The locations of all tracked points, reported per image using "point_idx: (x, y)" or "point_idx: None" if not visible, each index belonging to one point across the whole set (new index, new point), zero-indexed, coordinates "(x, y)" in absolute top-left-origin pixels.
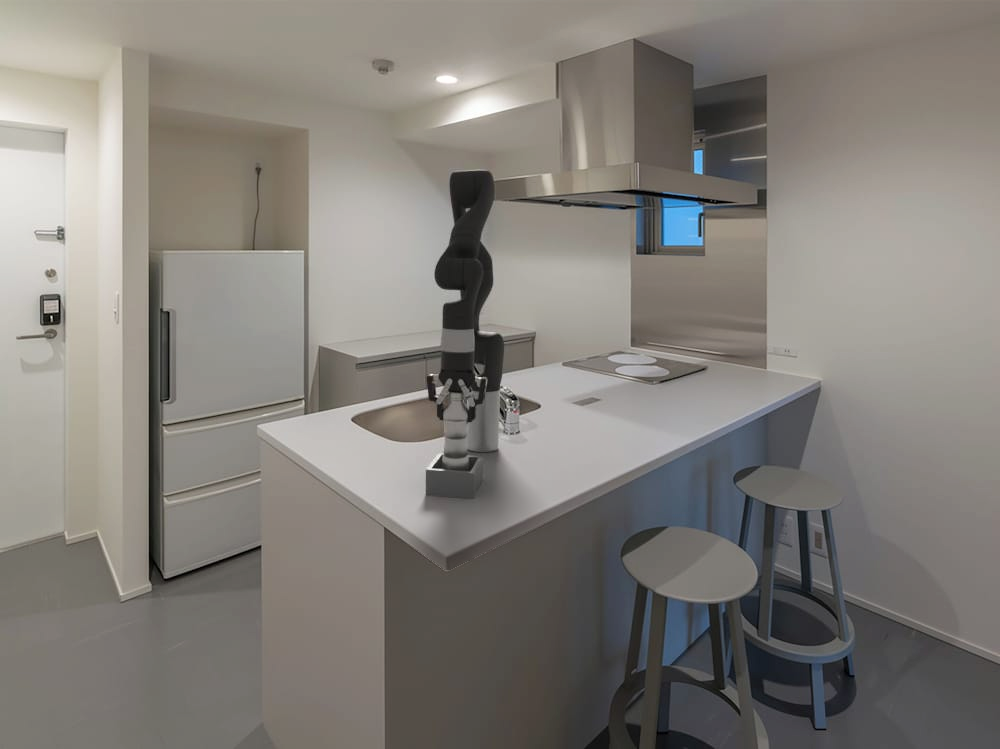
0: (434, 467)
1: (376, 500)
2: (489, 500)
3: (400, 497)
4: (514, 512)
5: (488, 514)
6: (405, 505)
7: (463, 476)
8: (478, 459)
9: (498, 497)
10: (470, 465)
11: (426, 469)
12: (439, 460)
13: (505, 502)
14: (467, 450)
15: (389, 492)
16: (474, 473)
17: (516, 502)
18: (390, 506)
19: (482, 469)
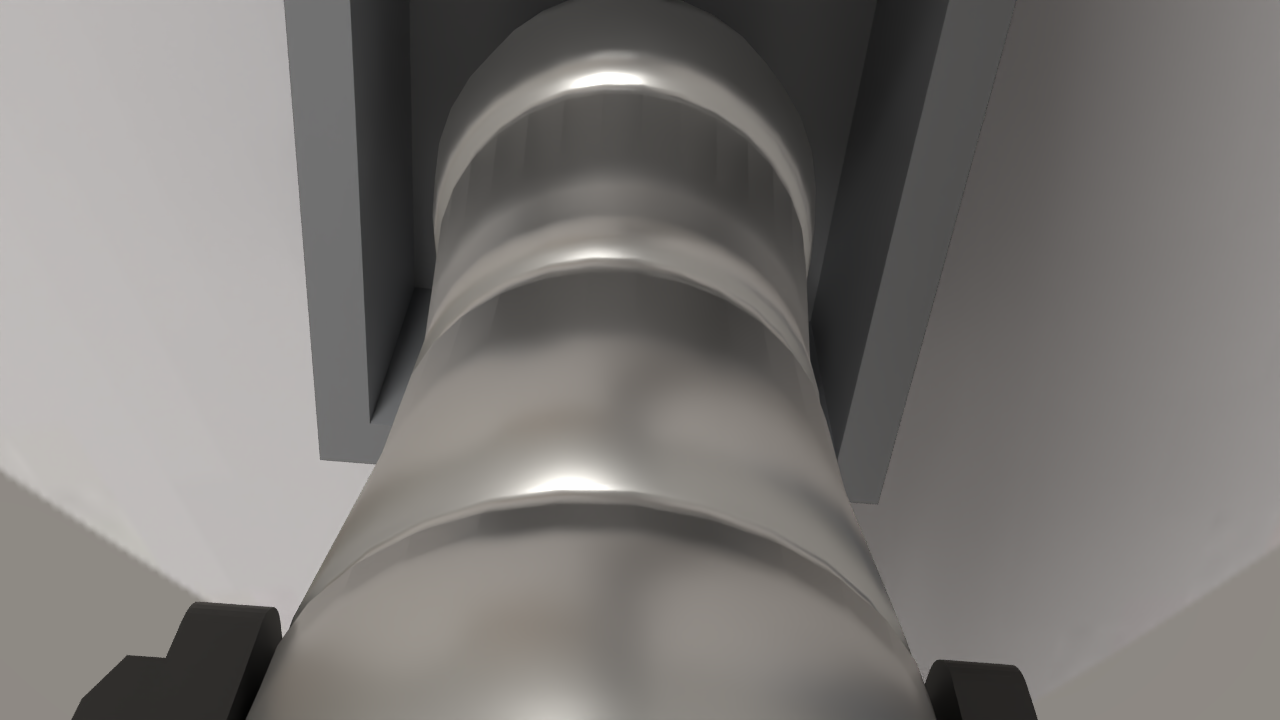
0: (372, 275)
1: (13, 440)
2: (988, 347)
3: (178, 369)
4: (1166, 527)
5: (954, 570)
6: (287, 497)
7: None
8: (958, 37)
9: (1085, 278)
10: None
11: (326, 458)
12: (361, 21)
13: (1131, 371)
14: (806, 295)
15: (24, 280)
16: (881, 479)
17: (1235, 362)
18: (181, 522)
19: None
